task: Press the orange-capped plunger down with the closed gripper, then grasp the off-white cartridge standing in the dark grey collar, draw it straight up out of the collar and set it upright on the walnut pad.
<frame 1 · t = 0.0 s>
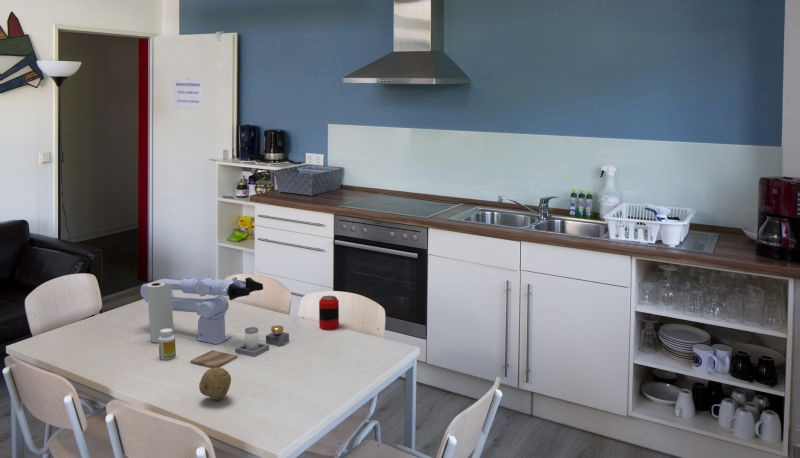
hand: (255, 289, 242), 22 cm above the table, tool horizontal, fingers open, 7 cm apart
supplement bottle: (167, 357, 237), on the table
pad: (214, 360, 234), on the table
cartridge: (251, 340, 242), in the collar
paper towel roll: (160, 341, 252), on the table
collar: (252, 350, 243), on the table
soda can: (329, 327, 269), on the table
plunger: (277, 331, 251), point 4 cm above the table, slide at 0.0 cm
plunger base: (277, 342, 252), on the table
potato: (215, 400, 204), on the table
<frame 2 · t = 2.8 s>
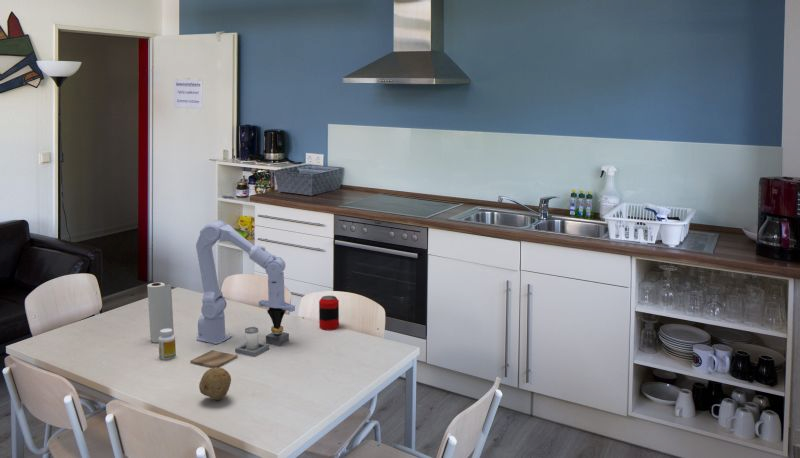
hand: (277, 327, 251), 6 cm above the table, tool pointing down, fingers closed, pressing on plunger
plunger: (277, 331, 251), point 4 cm above the table, slide at 0.0 cm, touching gripper
everything else where it was.
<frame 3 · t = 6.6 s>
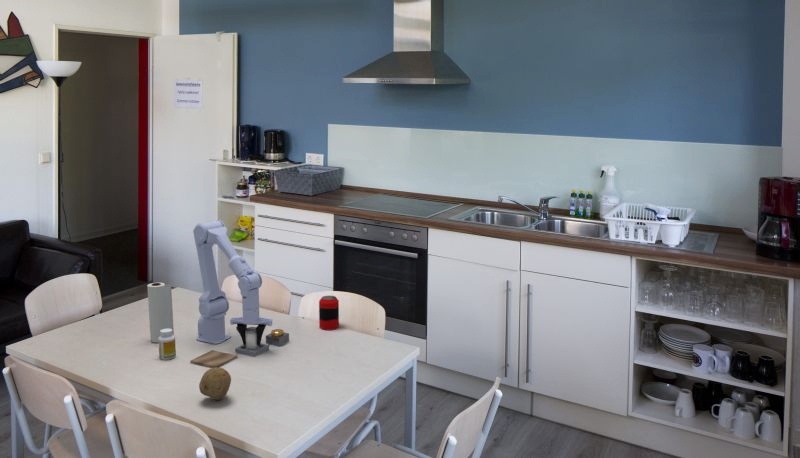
hand: (252, 344, 243), 2 cm above the table, tool pointing down, fingers closed on cartridge, 4 cm apart
cartridge: (251, 340, 242), in the collar, touching gripper
plunger: (277, 335, 251), point 3 cm above the table, slide at 1.4 cm
everything else where it was.
when the fingers open (4 cm above the table, at t = 12.2 s): cartridge stays where it is, resting on pad.
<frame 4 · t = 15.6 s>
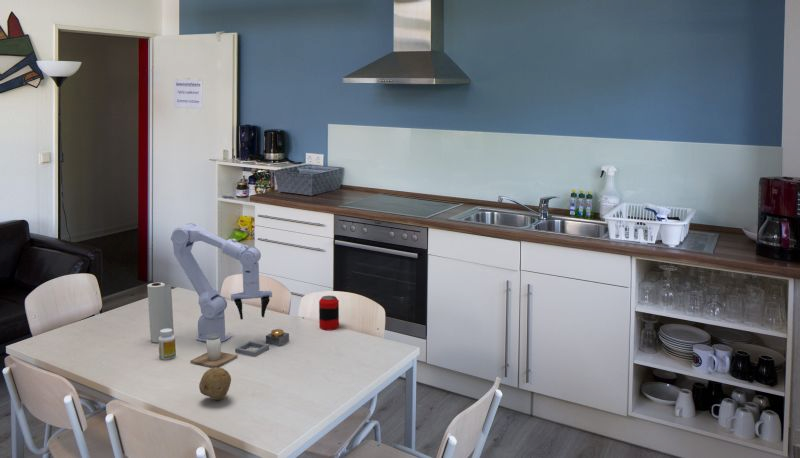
hand: (252, 317, 250), 9 cm above the table, tool pointing down, fingers open, 7 cm apart
cartridge: (213, 346, 233), on the pad, point 5 cm above the table
everything else where it was.
at the end: plunger slide at 1.4 cm; cartridge inside the target area on the pad (0.0 cm from its centre), point 4.8 cm above the pad's base; cartridge tilted 1° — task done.
